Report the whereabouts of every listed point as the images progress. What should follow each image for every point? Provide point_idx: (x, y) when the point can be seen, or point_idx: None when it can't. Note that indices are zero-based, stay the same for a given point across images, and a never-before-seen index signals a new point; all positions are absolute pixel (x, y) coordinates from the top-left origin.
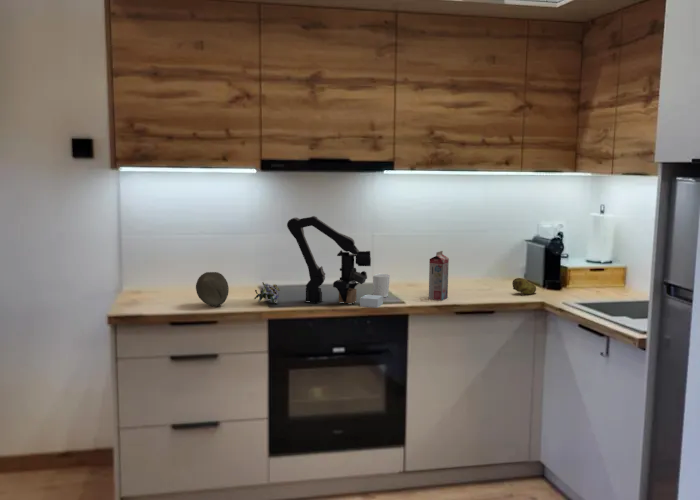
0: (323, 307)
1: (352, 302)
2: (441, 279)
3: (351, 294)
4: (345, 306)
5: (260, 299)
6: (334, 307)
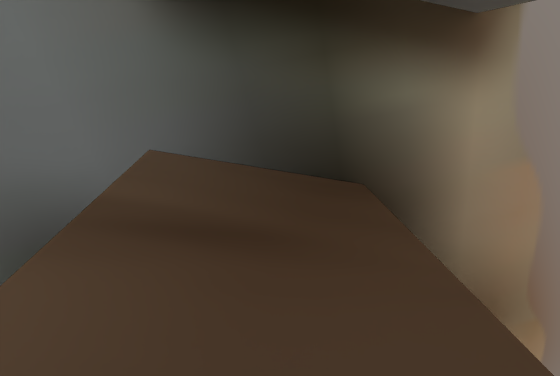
0: None
1: (320, 185)
2: None
3: (464, 305)
4: (470, 223)
5: None
6: (505, 305)
